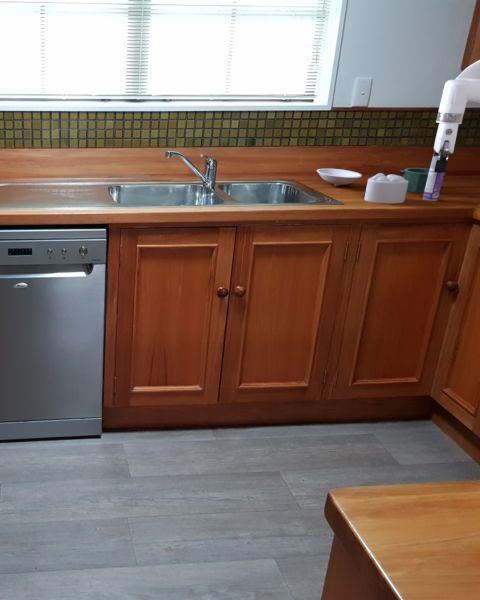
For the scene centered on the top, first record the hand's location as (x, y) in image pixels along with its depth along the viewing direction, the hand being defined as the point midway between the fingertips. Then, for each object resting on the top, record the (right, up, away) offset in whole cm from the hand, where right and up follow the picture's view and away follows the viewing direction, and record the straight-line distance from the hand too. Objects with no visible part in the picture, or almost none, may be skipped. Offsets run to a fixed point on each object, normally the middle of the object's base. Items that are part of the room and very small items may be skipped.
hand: (437, 169), depth 212 cm
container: (0, -10, +4) cm, 11 cm away
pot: (+4, -4, +18) cm, 19 cm away
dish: (-25, -1, +24) cm, 35 cm away
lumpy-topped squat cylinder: (-18, -10, +3) cm, 21 cm away
